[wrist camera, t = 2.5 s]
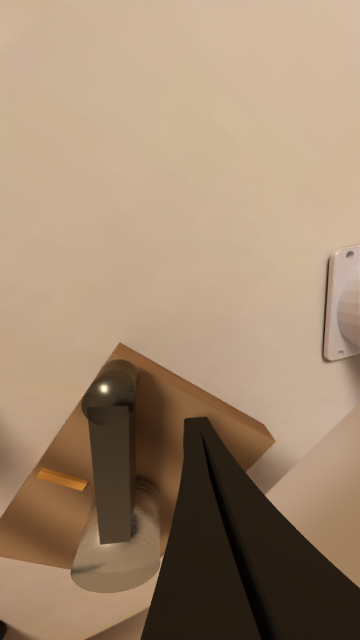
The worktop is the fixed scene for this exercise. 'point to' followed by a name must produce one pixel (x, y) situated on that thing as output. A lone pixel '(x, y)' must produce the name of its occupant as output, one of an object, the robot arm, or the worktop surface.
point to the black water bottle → (2, 630)
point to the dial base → (151, 464)
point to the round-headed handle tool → (116, 491)
